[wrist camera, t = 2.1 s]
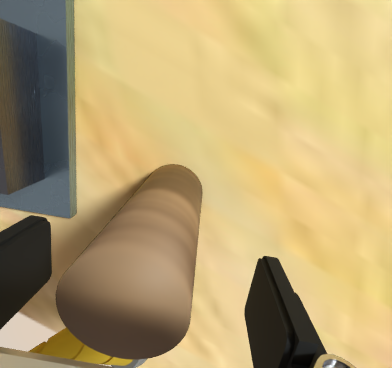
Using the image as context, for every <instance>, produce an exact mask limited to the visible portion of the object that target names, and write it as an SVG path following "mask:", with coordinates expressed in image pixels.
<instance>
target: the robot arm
mask: <svg viewBox="0 0 392 368" xmlns="http://www.w3.org/2000/svg"><path fill="white" fill-rule="evenodd" d="M51 273H52V267H51V227H50V222H48V221H47V219H46V218H44V217H39V216H32V215H31V216H29V217H27V218H25V219H23V220H21V221H19V222H18V223H16V224H14V225H12V226H10V227H9V228H7V229H5V230H3V231H1V232H0V329H1V328H2V327H3V326H4V325H5V324H6V323H7V322H8V321H9V320H10V319H11V318H12V317H13V316H14V315H15V314H16V313H17V312H18V311H19V310H20V309H21V308H22V307H23V306H24V305H25V304H26V303H27V302H28V301H29V300H30V299H31V298H32V297H33V296H34V295H35V294H36V293H37V292H38V291H39V290H40V289H41V288H42V287H43V286H44V285H45V284H46V283H47V282H48V280H49V279H50V277H51ZM245 321H246V326H247V332H248V338H249V344H250V349H251V355H252V361H253V367H254V368H356V367H355V366H353V365H352V364H351V363H350V362H348V361H346V360H345V359H343V358H341V357H338V356H336V355H332V354H327V352H326V350H325V348H324V346H323V344H322V342H321V340H320V338H319V336H318V334H317V332H316V330H315V328H314V326H313V324H312V322H311V320H310V318H309V316H308V314H307V312H306V310H305V308H304V306H303V304H302V302H301V300H300V298H299V296H298V295H297V294H296V293H294V291H293V289H292V287H291V285H290V282H289V280H288V278H287V276H286V274H285V272H284V270H283V268H282V266H281V264H280V262H279V260H278V258H274V257H269V256H263V258H262V259H261V258H259V259H258V262H257V266H256V269H255V273H254V276H253V280H252V284H251V287H250V291H249V294H248V298H247V302H246V305H245ZM0 368H115V367H109V366H104V365H99V364H93V363H88V362H82V361H77V360H71V359H66V358H60V357H54V356H49V355H43V354H38V353H32V352H26V351H20V350H15V349H9V348H3V347H0Z"/></svg>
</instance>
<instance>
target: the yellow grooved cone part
mask: <svg viewBox="0 0 392 368" xmlns="http://www.w3.org/2000/svg"><path fill="white" fill-rule="evenodd" d="M28 352H32V353H38V354H43V355H49V356H54V357H60V358H66V359H71V360H77V361H82V362H88V363H93V364H105V365H111V366H112V367H115V368H136V367H138V366H140V365H142V364H143V363H144V362H145V361H146V360H147V359H148V358H147V359H138V360H131V359H121V358H116V357H111V356H108V355H105V354H102V353H100V352H97V351H95V350H93V349H91V348H90V347H88V346H86V345H85V344H83V343H82V342H81V341H79V340H78V339H77V338H76V337H75V336H74V335H73V334H72V333H71V332H70V331H69V330H68V329H67V327H66V328H65V329H63V330H61V331H60V332H58V333H57V334H55V335H54V336H52V337H50V338H49V339H48V341H47V342H43V343H41V344H39V345H38V346H36V347H35V348H33V349H32V350H30V351H28Z"/></svg>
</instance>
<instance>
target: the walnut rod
mask: <svg viewBox="0 0 392 368" xmlns="http://www.w3.org/2000/svg"><path fill="white" fill-rule="evenodd" d="M201 202H202V186H201V183H200V181H199V179H198V177H197V176H196V175H195V174H194V173H193V172H192V171H191V170H189V169H188V168H186V167H184V166H181V165H175V164H170V165H165V166H162V167H160V168H158V169H156V170H155V171H154V172H153V173H152V174H151V175H150V176H149V177H148V179H147V180H146V181H145V182H144V183H143V184H142V185H141V186H140V188H139V189H138V190H137V191H136V192H135V193H134V194H133V196H132V197H131V198H130V199H129V200H128V201H127V202H126V204H125V205H124V206H123V207H122V208H121V209H120V210H119V212H118V213H117V214H116V215H115V216H114V217H113V218H112V220H111V221H110V222H109V223H108V224H107V225H106V226H105V227H104V229H103V230H102V231H101V232H100V233H99V234H98V235H97V237H96V238H95V239H94V240H93V241H92V242H91V243H90V245H89V246H88V247H87V248H86V249H85V250H84V251H83V253H82V254H81V255H80V256H79V257H78V258H77V259H76V260H75V262H74V263H73V264H72V265H71V266H70V267H69V268H68V270H67V271H66V272H65V273H64V274H63V276H62V277H61V279H60V281H59V284H58V286H57V291H56V305H57V309H58V313H59V315H60V317H61V319H62V321H63V323H64V324H65V326H66V327H67V329H68V330H69V331H70V332H71V333H72V334H73V335H74V336H75V337H76V338H77V339H78V340H79V341H81V342H82V343H83V344H85V345H86V346H88V347H90V348H91V349H93V350H95V351H97V352H100V353H102V354H105V355H108V356H111V357H116V358H121V359H131V360H138V359H147V358H152V357H156V356H159V355H162V354H164V353H166V352H168V351H170V350H171V349H173V348H174V347H175V346H177V345H178V344H179V343H180V342H181V340H182V339H183V338H184V336H185V335H186V333H187V331H188V328H189V324H190V318H191V308H192V297H193V286H194V276H195V265H196V255H197V244H198V234H199V223H200V213H201Z"/></svg>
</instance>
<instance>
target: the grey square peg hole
mask: <svg viewBox="0 0 392 368" xmlns="http://www.w3.org/2000/svg"><path fill="white" fill-rule="evenodd" d="M0 207H6V208H12V209H18V210H24V211H30V212H35V213H41V214H47V215H53V216H59V217H65V218H72V217H73V216H74V215H75V214H76V133H75V52H74V0H0Z"/></svg>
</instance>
